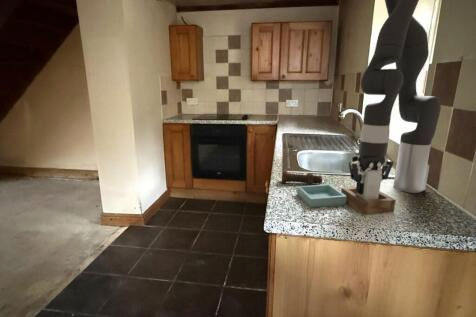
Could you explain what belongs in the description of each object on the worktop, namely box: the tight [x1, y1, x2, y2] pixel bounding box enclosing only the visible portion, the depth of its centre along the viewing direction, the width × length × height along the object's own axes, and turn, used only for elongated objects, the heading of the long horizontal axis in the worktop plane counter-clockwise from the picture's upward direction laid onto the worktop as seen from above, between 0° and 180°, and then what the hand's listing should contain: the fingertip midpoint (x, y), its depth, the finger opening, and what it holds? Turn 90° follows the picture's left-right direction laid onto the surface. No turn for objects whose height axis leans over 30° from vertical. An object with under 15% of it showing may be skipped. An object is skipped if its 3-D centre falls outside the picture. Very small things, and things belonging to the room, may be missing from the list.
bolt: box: [281, 169, 323, 186], centre depth 107 cm, size 6×5×15 cm
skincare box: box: [357, 166, 381, 200], centre depth 87 cm, size 6×4×12 cm
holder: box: [340, 186, 397, 216], centre depth 88 cm, size 10×12×4 cm
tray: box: [296, 183, 347, 209], centre depth 93 cm, size 12×11×3 cm
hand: (367, 192), depth 87 cm, fingers closed on skincare box, 4 cm apart
